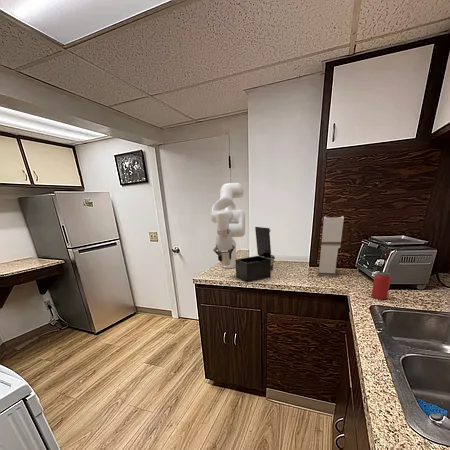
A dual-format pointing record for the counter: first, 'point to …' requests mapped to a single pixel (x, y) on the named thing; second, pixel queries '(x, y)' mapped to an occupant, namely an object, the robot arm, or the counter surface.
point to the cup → (225, 258)
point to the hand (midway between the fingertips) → (224, 259)
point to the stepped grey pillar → (330, 245)
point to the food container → (271, 261)
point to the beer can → (381, 285)
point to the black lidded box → (253, 268)
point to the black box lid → (263, 241)
